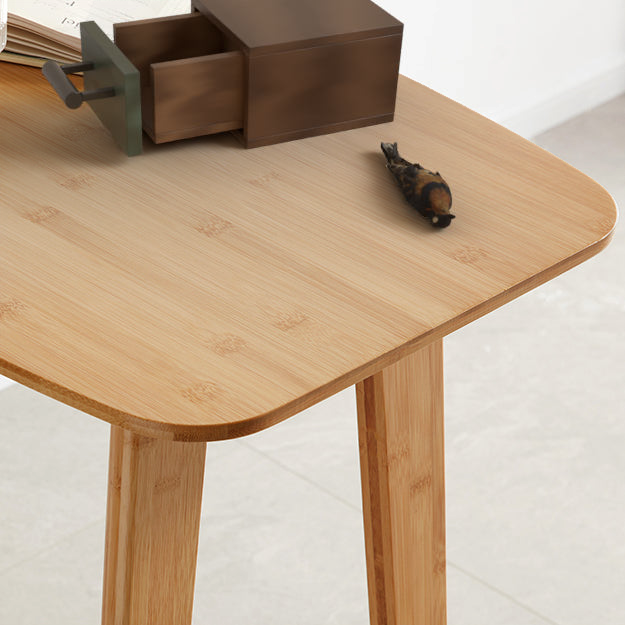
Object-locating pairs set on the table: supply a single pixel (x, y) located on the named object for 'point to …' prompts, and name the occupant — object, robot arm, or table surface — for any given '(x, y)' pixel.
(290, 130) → the cabinet
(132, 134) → the drawer
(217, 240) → the table surface
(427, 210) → the bird model
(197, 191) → the table surface
